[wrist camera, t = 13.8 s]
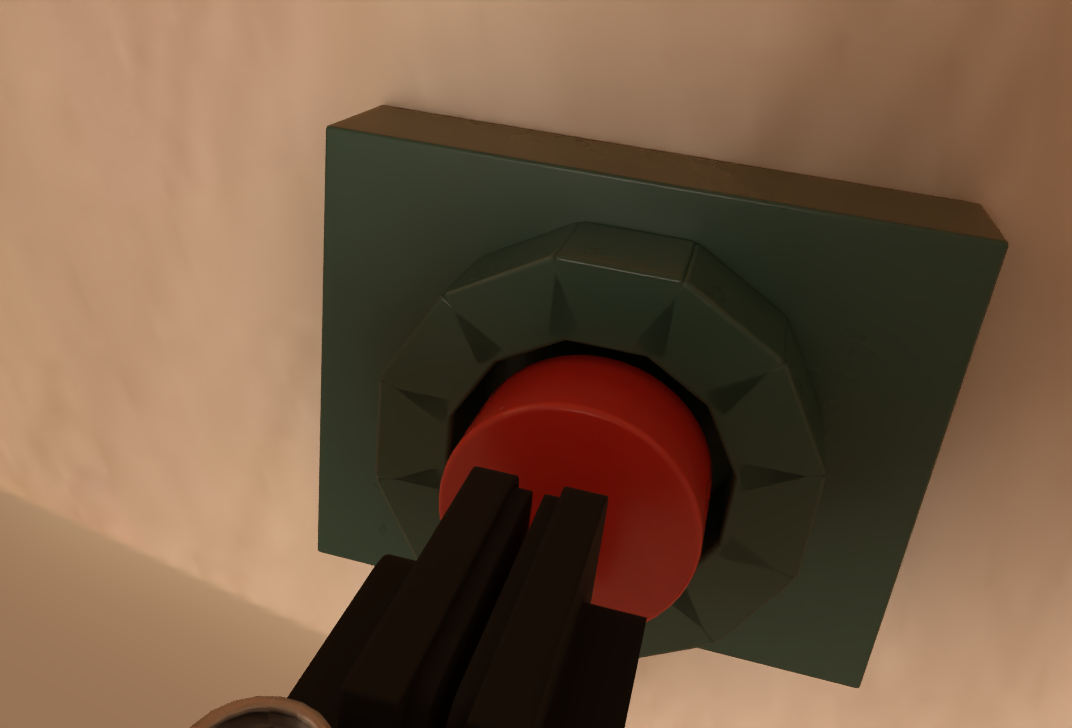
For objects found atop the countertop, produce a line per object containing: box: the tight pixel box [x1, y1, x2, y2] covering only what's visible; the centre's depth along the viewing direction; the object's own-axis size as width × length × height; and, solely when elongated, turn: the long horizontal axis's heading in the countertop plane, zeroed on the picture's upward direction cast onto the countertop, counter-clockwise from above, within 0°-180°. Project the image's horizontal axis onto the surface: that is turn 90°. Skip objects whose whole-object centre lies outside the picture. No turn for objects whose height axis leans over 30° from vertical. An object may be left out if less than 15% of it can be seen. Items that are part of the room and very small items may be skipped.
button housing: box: [318, 106, 1009, 688], centre depth 16 cm, size 10×8×4 cm
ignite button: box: [439, 355, 712, 622], centre depth 13 cm, size 4×4×2 cm
